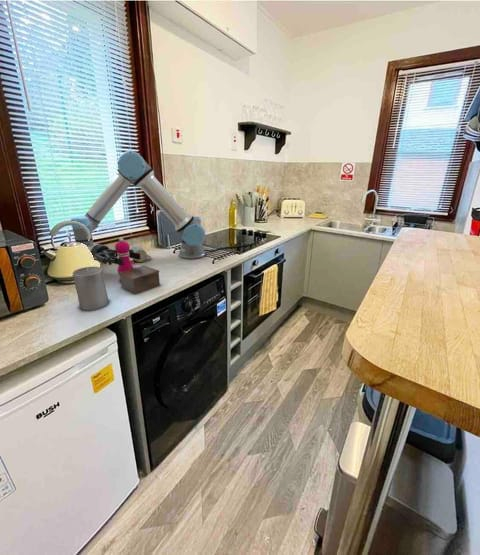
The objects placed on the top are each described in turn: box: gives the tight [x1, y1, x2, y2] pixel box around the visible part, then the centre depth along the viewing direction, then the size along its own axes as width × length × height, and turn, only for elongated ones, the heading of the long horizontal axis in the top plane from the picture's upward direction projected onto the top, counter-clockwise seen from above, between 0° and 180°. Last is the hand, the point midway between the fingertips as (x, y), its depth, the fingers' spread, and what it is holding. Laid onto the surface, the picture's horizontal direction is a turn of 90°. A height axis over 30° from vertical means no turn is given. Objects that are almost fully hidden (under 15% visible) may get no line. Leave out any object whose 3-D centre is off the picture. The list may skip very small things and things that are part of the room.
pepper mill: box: [114, 237, 135, 282], centre depth 123 cm, size 7×7×20 cm
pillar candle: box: [72, 266, 109, 311], centre depth 101 cm, size 10×10×15 cm
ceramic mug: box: [130, 245, 152, 263], centre depth 153 cm, size 11×8×8 cm
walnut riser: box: [119, 264, 161, 295], centre depth 119 cm, size 12×11×7 cm
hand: (131, 259), depth 120 cm, fingers open, 9 cm apart
